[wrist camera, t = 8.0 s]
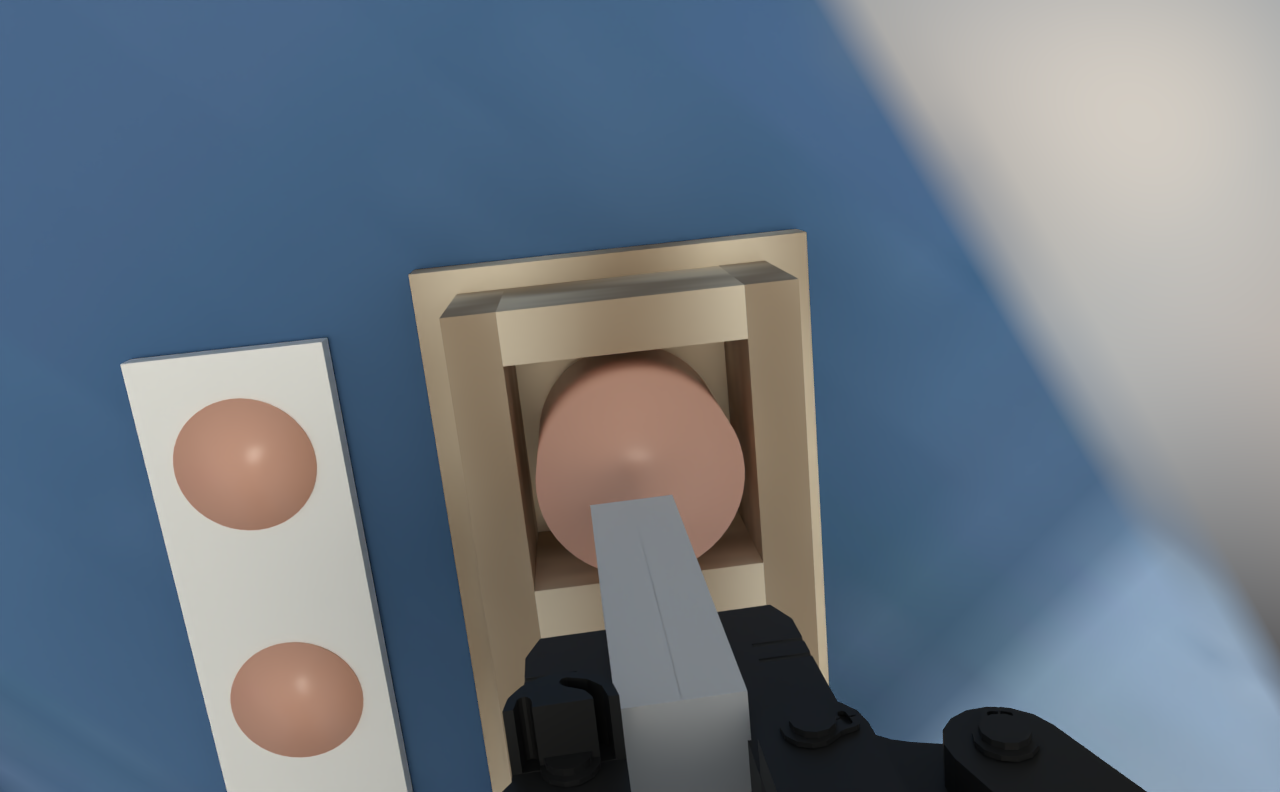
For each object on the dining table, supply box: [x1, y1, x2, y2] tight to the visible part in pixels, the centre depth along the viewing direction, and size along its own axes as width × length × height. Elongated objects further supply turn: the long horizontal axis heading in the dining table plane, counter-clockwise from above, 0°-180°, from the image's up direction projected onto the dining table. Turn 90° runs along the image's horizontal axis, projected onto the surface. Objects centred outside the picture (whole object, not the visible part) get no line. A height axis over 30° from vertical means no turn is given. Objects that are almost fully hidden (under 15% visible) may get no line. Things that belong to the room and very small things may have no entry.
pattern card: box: [120, 338, 413, 792], centre depth 26 cm, size 5×20×1 cm, turn 6°
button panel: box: [409, 229, 829, 792], centre depth 25 cm, size 10×23×4 cm, turn 5°
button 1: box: [535, 349, 745, 568], centre depth 22 cm, size 5×5×4 cm
